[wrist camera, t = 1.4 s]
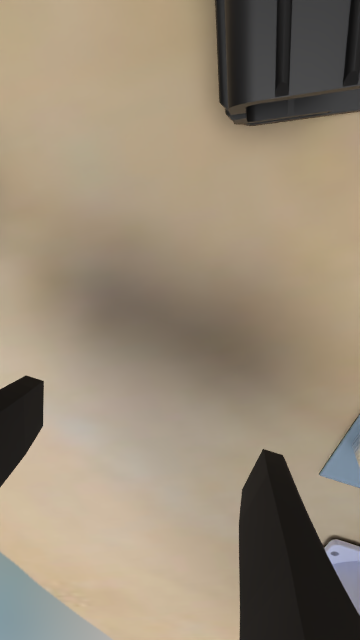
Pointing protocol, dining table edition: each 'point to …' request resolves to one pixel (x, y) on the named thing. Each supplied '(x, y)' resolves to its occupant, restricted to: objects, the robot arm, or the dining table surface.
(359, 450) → the aluminium block
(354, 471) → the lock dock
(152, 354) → the dining table surface
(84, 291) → the dining table surface
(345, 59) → the end cap
